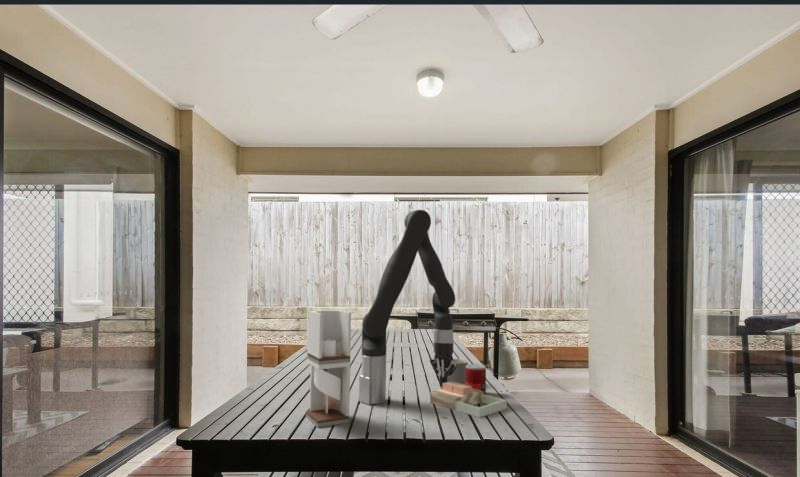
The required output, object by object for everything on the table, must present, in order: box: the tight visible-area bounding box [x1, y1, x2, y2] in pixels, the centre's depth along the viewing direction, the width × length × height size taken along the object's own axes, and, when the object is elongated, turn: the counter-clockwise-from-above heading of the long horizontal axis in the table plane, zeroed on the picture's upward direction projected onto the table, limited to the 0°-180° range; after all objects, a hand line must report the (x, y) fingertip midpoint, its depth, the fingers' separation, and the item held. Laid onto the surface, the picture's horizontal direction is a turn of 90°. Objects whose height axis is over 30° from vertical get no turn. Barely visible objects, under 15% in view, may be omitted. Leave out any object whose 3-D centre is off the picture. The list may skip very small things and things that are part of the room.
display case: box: [305, 309, 352, 428], centre depth 153 cm, size 11×11×35 cm
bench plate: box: [429, 388, 483, 411], centre depth 173 cm, size 16×12×4 cm
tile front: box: [453, 384, 472, 395], centre depth 171 cm, size 5×5×2 cm
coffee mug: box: [437, 358, 469, 385], centre depth 200 cm, size 13×10×10 cm
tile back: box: [441, 381, 461, 392], centre depth 175 cm, size 5×5×2 cm
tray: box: [454, 393, 508, 418], centre depth 165 cm, size 16×11×3 cm
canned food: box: [466, 363, 487, 395], centre depth 186 cm, size 8×8×11 cm
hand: (443, 386), depth 179 cm, fingers closed
